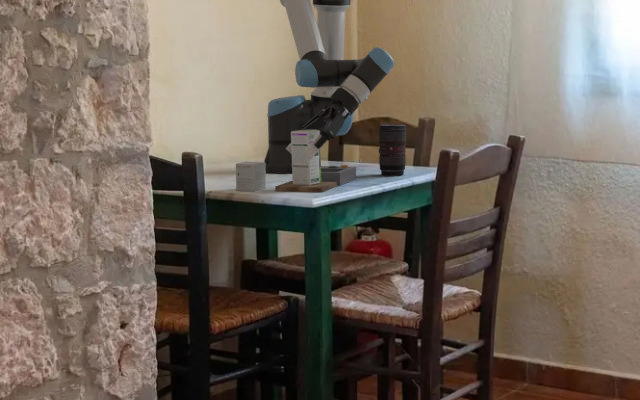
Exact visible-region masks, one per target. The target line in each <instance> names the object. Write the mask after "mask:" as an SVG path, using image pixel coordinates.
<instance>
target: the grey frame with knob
mask: <svg viewBox="0 0 640 400" xmlns="http://www.w3.org/2000/svg"><path fill="white" fill-rule="evenodd" d="M356 179H357V167H356V166H350V165H349V164H340V166H339V165H321V181H324V182H337V187H338V186H343V185H345V184H347V183H349V182H352V181H354V180H356Z"/></svg>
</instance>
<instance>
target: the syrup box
mask: <svg viewBox="0 0 640 400" xmlns="http://www.w3.org/2000/svg"><path fill="white" fill-rule="evenodd" d="M319 132H320V131H319V130H313V129H309V130H299V131H292V132H291V148H292V173H291V174H292V175H291V176H292V177H291V178H292V181H293V184H295V185H309V186H310V185H313V184H318V183H321V166H322V165H321V164H322V162H321V149H320V150H319V151H318V152H317V153H316V154H315V156H314V157H313V158H312V159H311V160H310V159H309V158H308V157H307V156H306V155H305V154H304V153H303V152H304V151H305V149H306V148H307V147H308V146H309V145H310V144H311V143H312V142H313V140H314V139H315V138H316V137H317V136H318V135H319V134H320V133H319Z"/></svg>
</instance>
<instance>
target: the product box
mask: <svg viewBox="0 0 640 400" xmlns="http://www.w3.org/2000/svg"><path fill="white" fill-rule="evenodd" d="M266 179H267V172H266V163H265V162H264V161H242V162H238V163H235V187H236V188H235V190H236V191H240V192H243V191H244V192H259V191H263V190H266V188H267V185H266V184H267V183H266V182H267V181H266Z"/></svg>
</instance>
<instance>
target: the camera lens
mask: <svg viewBox="0 0 640 400" xmlns="http://www.w3.org/2000/svg"><path fill="white" fill-rule="evenodd" d="M406 141H407V127H406V125H405V124H380V125H379V129H378V142H379V148H378V153H379V155H378V157H379V158H378V159H379V160H378V163H379V170H380V173H381V176H384V177H397V176H403V175H405V172H404V171H405V170H406V161H407V160H406V159H407V157H406V145H407V144H406V143H407V142H406Z"/></svg>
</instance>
